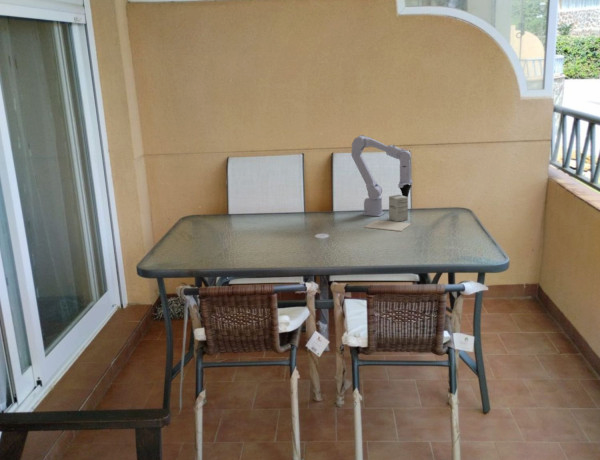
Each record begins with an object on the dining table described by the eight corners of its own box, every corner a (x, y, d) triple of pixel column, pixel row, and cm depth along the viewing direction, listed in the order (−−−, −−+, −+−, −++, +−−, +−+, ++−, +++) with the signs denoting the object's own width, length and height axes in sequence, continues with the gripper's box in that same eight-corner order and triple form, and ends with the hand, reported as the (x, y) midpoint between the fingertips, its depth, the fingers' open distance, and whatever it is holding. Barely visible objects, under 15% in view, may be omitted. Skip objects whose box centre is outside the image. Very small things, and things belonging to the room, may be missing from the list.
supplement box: (388, 219, 320) (388, 196, 317) (400, 217, 323) (400, 194, 320) (396, 222, 314) (396, 198, 310) (408, 220, 317) (408, 196, 313)
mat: (364, 227, 307) (364, 226, 307) (376, 220, 318) (375, 220, 318) (401, 231, 297) (401, 230, 297) (411, 224, 308) (411, 223, 308)
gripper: (407, 176, 312) (407, 201, 316) (417, 171, 324) (417, 196, 328) (394, 175, 316) (394, 200, 320) (404, 170, 328) (405, 195, 332)
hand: (405, 198), depth 324 cm, fingers closed
